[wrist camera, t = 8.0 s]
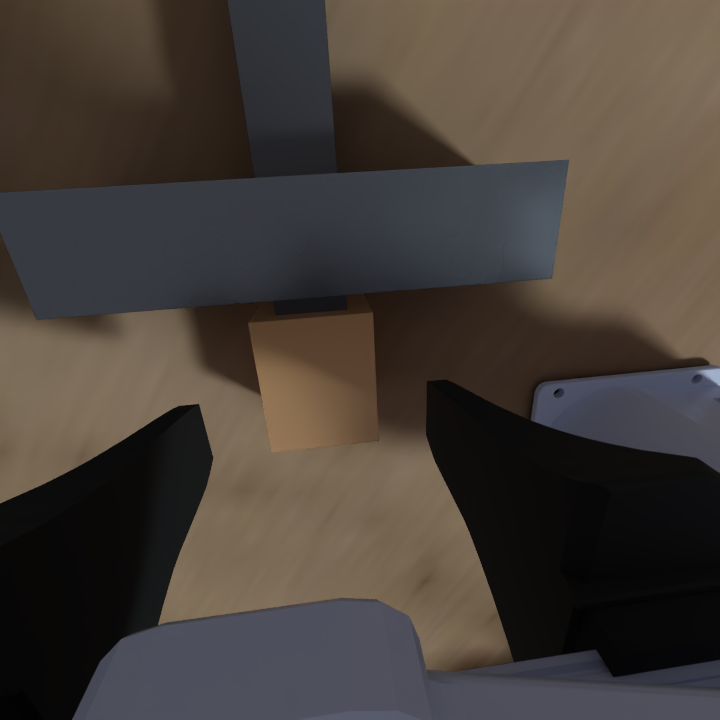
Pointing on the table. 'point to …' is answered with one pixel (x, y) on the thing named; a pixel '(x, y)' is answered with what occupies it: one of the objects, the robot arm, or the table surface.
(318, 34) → the plug
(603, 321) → the table surface
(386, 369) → the table surface
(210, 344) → the table surface
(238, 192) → the housing
